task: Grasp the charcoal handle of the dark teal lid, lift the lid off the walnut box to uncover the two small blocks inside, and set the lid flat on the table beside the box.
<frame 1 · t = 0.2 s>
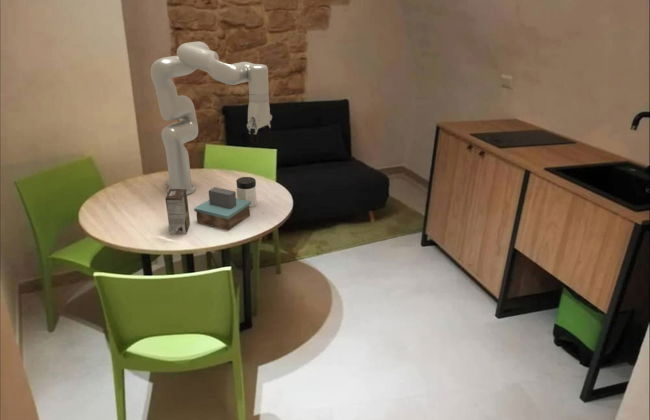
hand: (260, 140, 196), 31 cm above the table, tool pointing down, fingers open, 9 cm apart
lid: (223, 207, 196), point 6 cm above the table, touching box
box: (224, 220, 199), on the table
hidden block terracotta: (213, 220, 197), point 1 cm above the table, touching box
coffee box: (180, 231, 190), on the table
jar: (247, 206, 213), on the table
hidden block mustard: (234, 217, 200), point 1 cm above the table, touching box
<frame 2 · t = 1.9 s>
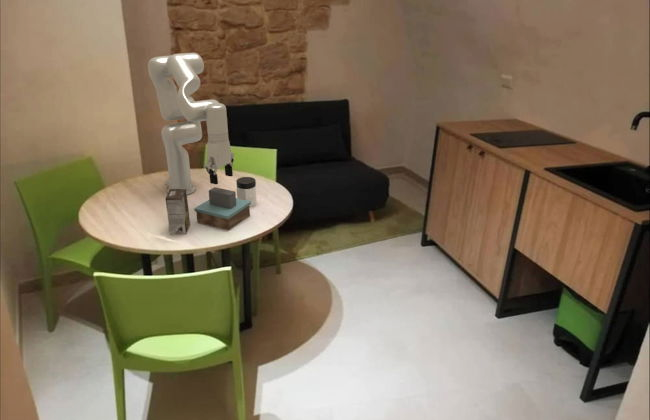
hand: (221, 179, 191), 18 cm above the table, tool pointing down, fingers open, 9 cm apart
nothing on the table moved.
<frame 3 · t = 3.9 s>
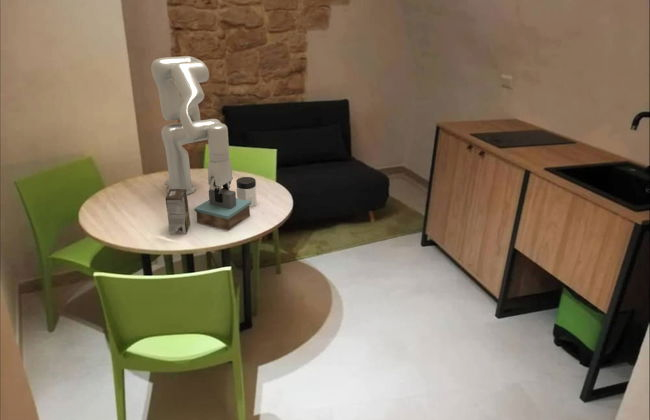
hand: (222, 199, 195), 9 cm above the table, tool pointing down, fingers closed on lid, 4 cm apart
lid: (223, 207, 196), point 6 cm above the table, touching box, gripper
everything else where it was.
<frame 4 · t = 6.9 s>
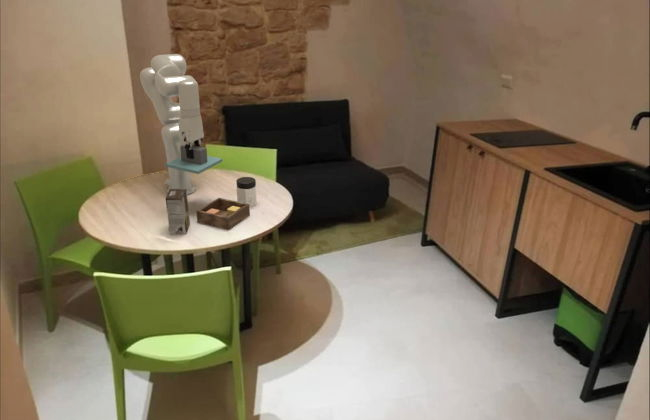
hand: (193, 156, 199), 24 cm above the table, tool pointing down, fingers closed on lid, 4 cm apart
lid: (194, 164, 201), point 20 cm above the table, touching gripper
everything else where it was.
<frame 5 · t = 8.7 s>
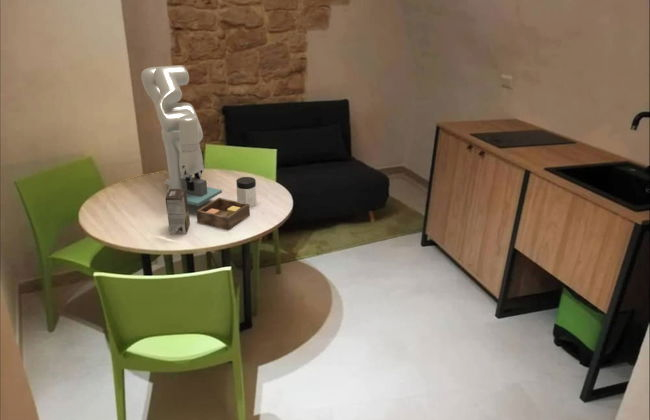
hand: (194, 188, 206), 9 cm above the table, tool pointing down, fingers closed on lid, 4 cm apart
lid: (195, 195, 207), point 6 cm above the table, touching gripper
everything else where it was.
when the fingers open (5 cm above the table, at t = 10.3 s): lid drops 2 cm, on the table.
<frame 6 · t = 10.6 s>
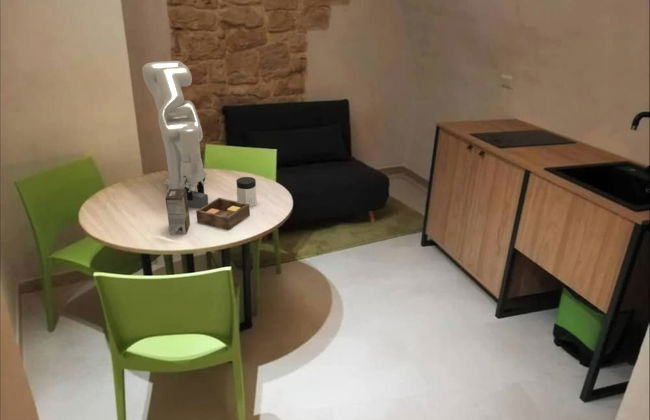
hand: (195, 196, 208), 5 cm above the table, tool pointing down, fingers open, 7 cm apart
lid: (196, 209, 210), on the table
everything else where it was.
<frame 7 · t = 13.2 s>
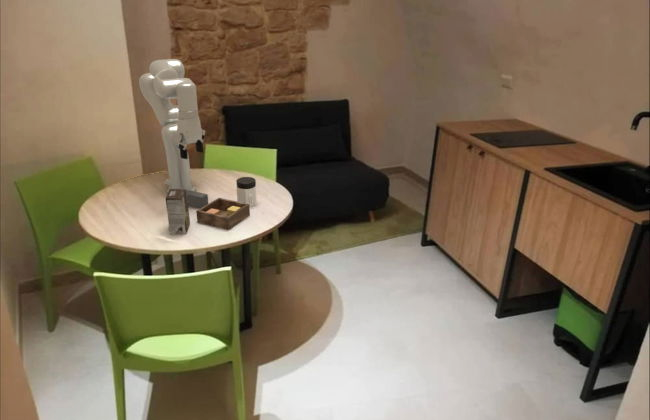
hand: (192, 155, 201), 23 cm above the table, tool pointing down, fingers open, 9 cm apart
nothing on the table moved.
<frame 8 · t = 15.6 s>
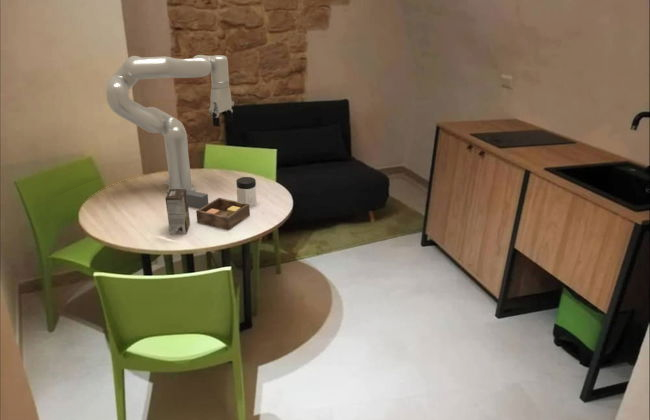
hand: (223, 123, 221), 30 cm above the table, tool pointing down, fingers open, 9 cm apart
nothing on the table moved.
at the end: lid inside the target area (0.1 cm from its centre), on the table; lid tilted 0°; the gripper is holding nothing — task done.
